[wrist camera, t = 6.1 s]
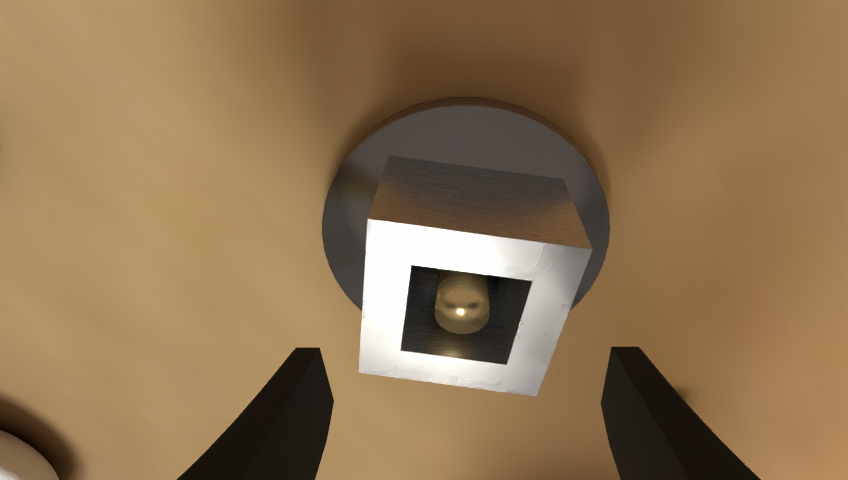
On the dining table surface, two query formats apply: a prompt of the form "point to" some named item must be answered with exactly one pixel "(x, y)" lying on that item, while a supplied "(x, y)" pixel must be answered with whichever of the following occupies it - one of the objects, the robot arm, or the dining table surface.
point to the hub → (470, 146)
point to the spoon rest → (22, 461)
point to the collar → (476, 253)
